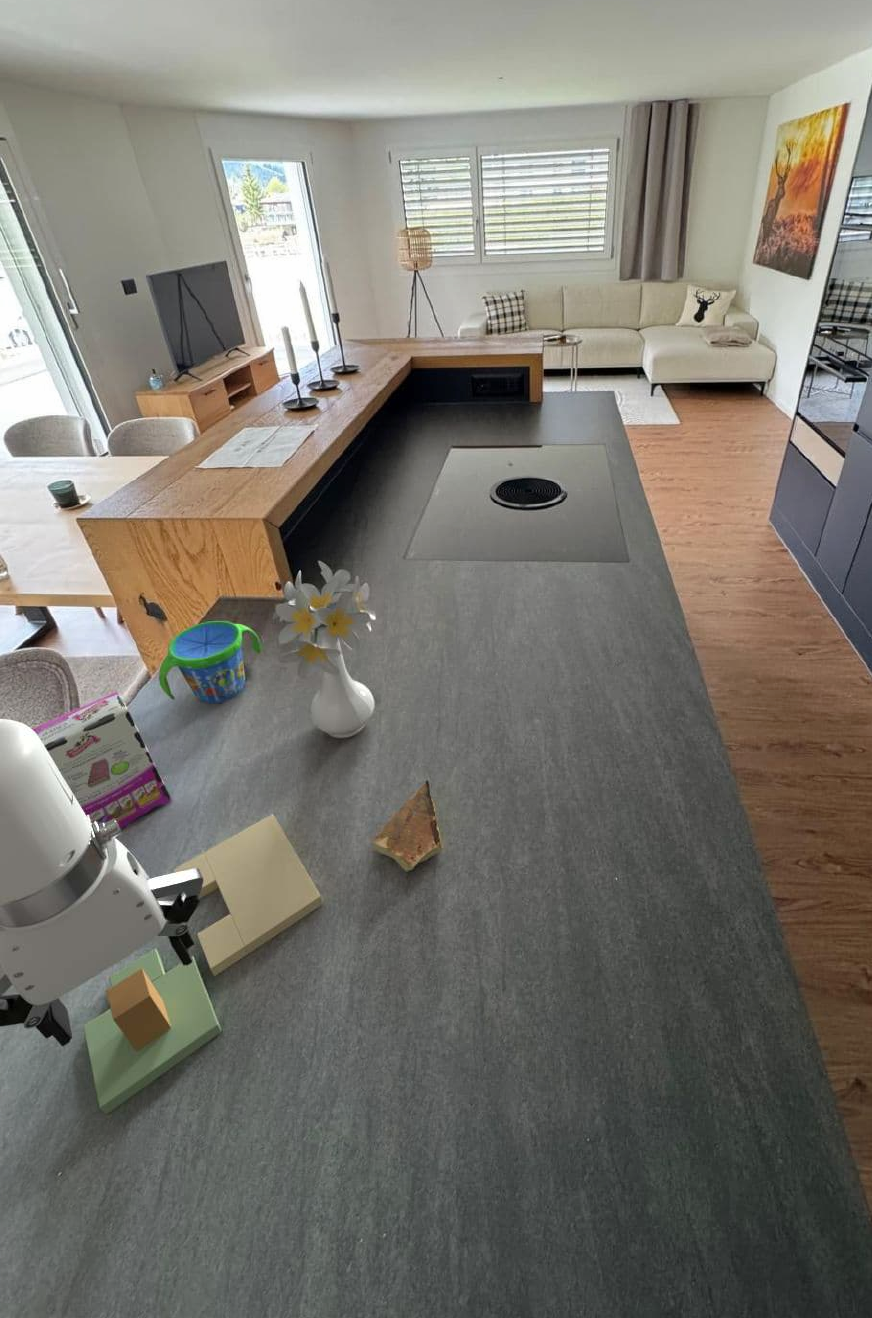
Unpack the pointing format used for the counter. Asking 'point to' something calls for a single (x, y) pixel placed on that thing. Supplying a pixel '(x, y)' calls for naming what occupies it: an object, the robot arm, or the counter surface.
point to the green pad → (163, 1050)
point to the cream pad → (252, 891)
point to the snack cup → (209, 660)
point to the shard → (411, 832)
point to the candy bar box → (105, 761)
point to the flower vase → (329, 647)
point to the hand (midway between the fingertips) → (127, 988)
